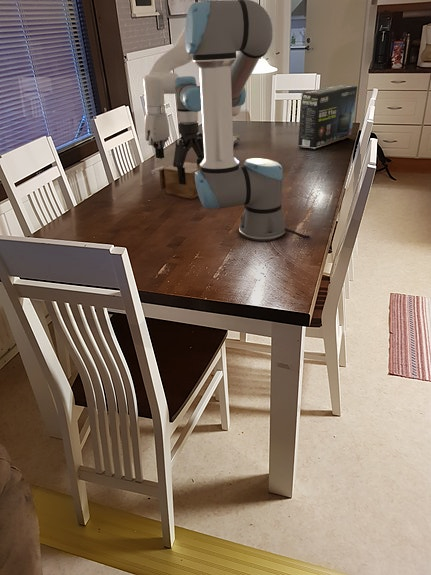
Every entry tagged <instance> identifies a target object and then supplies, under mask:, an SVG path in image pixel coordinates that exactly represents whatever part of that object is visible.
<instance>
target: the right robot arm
mask: <svg viewBox="0 0 431 575" xmlns="http://www.w3.org/2000/svg"><path fill="white" fill-rule="evenodd" d="M185 17H186V18H185V25H184V27H185V44H186V51H187V53H188V54H190V55H191V54H193V59H192V62H193V63H194V64H195V65H196V66H197V67H198V72H199V85H198V84H197V78H196V77H195V76H194V75H193V76H191V75H190V76H189V75H187V76H186V75H185V76H180V77H177V78H176V80H175V89H176V93H175V96H176V97H175V99H176V108H177V109H176V112H177V122H178V124H177V125H178V126H177V127H178V134H180V139H175V143H174V144H175V147H174V148H175V149H174V156H173V162H172V164H173V167H177V170H178V176H179V184H184V185H185V184H186V179H185V167H183V165H184V162H186V159H187V156H188V153H189V151H190V149H193V151H194V153H195V155H196V157H197V159H196V164H200V171H197V172H195V184H196V188H197V192H198V196H197V197H198V198H199V201H200V204H201V205H202V207H203V208H204V209H206V210H220V209H226V208H233V207H239V206H244V211H243V213H242V215H241V217H240V222H239V226H238V232H239V235H240V236H241V237H242V238H244V239H247V240H250V241H254V242H271V241H277V240H279V239H281V238H283V237H285V235H286V234H287V232H288V233H290V234H293V235H296V236H297V237H298V236H299V237H301V238H306V239H310V235H309V234H308V235H307V234H302V233H300V232H297V231H296V230H292V229H289V228H287V223H286V221H285V216H284V214H283V210H282V200H283V183H284V175H283V173H284V172H283V171H284V170H283V166H282V164H280V163H279V162H278V161H275V160H272V159H268V158H259V157H252V158H251V157H250V158H247V159H245V160H244V163H243V165H240V161H239V160H238V159H237V158H236V156H234V155H235V154H234V145H233V133H234V122H233V116H232V107H236V106H241V107H242V106H243V105H244V104H245V102H246V98H247V90H246V85H247V83H248V82H249V80H250V77H251V76H252V74H253V72H254V70H255V69H256V66H257V64H258V62H259V60H260V59H261V58H263V57H264V56H265V55H266V54H268V51H269V49H270V47H271V46H272V44H273V38H274V26H273V22H272V19H271V17H270V15H269V14H268V12H267V10H266V9H265V8H264V7H263V6H262V4H261V5H260V4H259V3H258V2H256V1H254V0H203V1H194V2H192V3H191V4H190V6H189V8H188V9H187V13H186V16H185ZM199 112H201V122H202V132H200V129H199V128H200V127H199V122H198V121H199ZM180 163H181V165H180Z"/></svg>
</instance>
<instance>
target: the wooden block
mask: <svg viewBox="0 0 431 575" xmlns="http://www.w3.org/2000/svg"><path fill="white" fill-rule="evenodd" d="M170 165H171V164H170ZM180 165H181V163H180ZM167 166H168V167H166V166H165V167H166V168H164V174H165V185H166V189H165V193H166V194H169V195H173V196H177V197H180V198H181V197H182V198H187V199H190V200H193V199H195V198H197V197H199V196H198V192H197V188H196V184H195V172H197V171H200V164H197V163H195V162H190V161H189V162H188V161H185V162H184V165H183V167H185V179H186V184H185V185H184V184H179V176H178V170H177V167H173V165H171V166H169V165H167Z"/></svg>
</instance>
